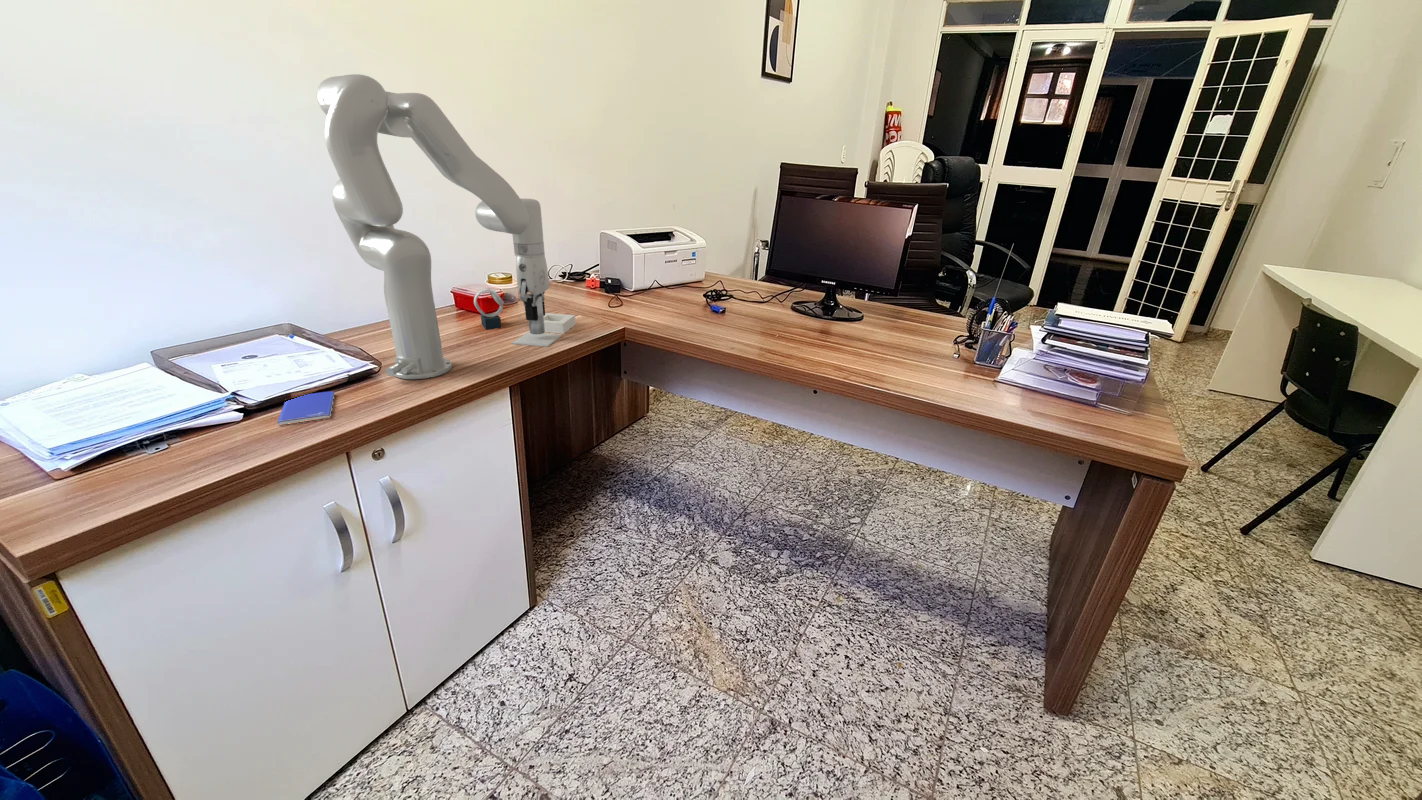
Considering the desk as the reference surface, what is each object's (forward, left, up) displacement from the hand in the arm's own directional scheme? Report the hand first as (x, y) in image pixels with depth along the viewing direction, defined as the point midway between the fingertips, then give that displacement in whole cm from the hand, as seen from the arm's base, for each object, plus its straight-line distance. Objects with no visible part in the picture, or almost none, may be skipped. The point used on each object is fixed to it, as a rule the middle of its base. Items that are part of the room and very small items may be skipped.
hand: (535, 317), depth 151 cm
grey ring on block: (+9, +18, -7) cm, 21 cm away
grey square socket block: (+12, 0, -6) cm, 14 cm away
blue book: (-52, +25, -7) cm, 58 cm away
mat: (0, 0, -6) cm, 6 cm away
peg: (0, 0, -4) cm, 4 cm away
